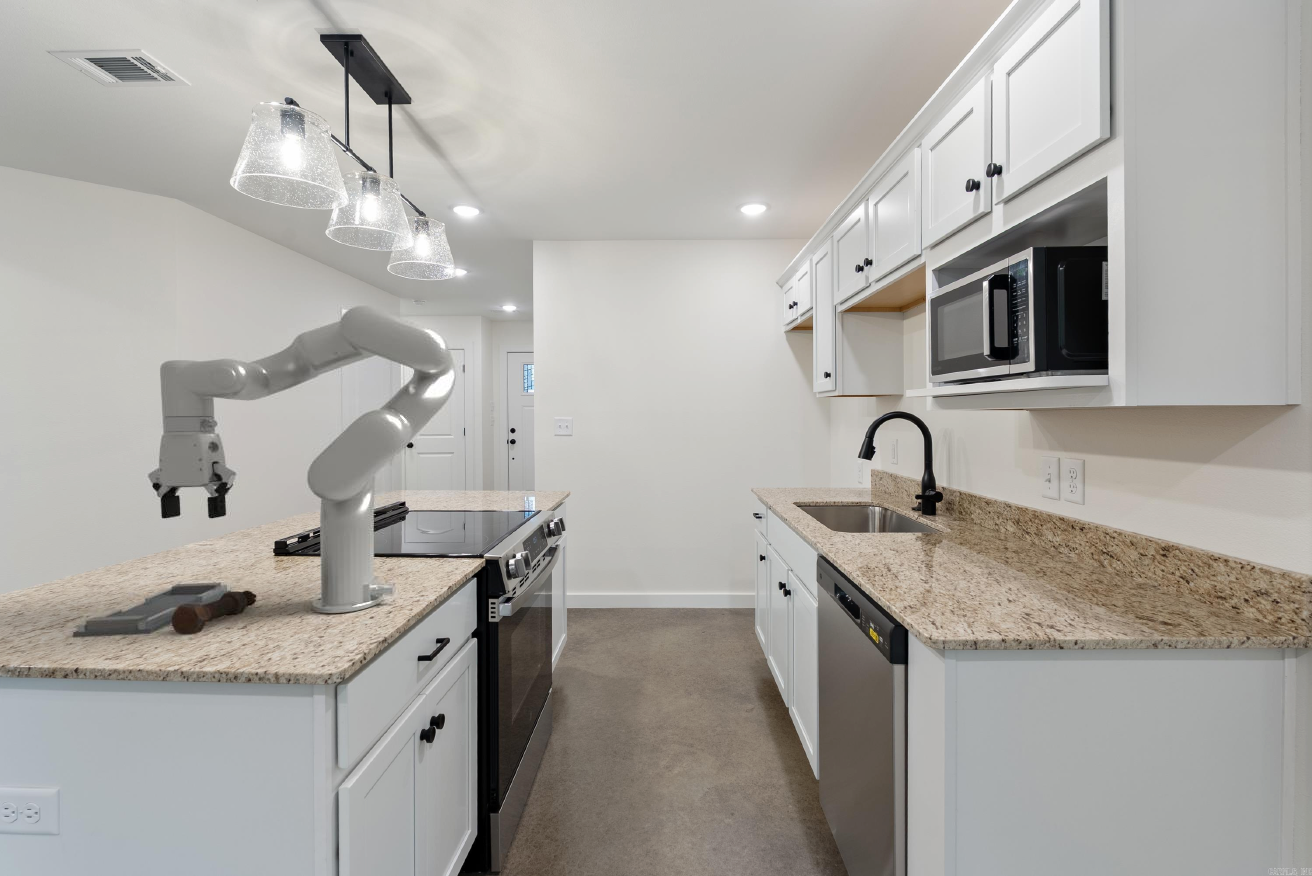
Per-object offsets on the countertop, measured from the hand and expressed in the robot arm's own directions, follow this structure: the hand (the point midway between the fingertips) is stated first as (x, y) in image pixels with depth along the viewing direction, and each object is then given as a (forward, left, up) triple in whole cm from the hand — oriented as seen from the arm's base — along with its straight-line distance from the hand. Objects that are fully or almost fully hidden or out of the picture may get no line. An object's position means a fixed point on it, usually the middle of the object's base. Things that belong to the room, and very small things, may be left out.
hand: (194, 517), depth 106 cm
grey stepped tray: (+9, -3, -19) cm, 21 cm away
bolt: (-5, +2, -20) cm, 20 cm away
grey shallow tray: (+9, -3, -19) cm, 21 cm away
